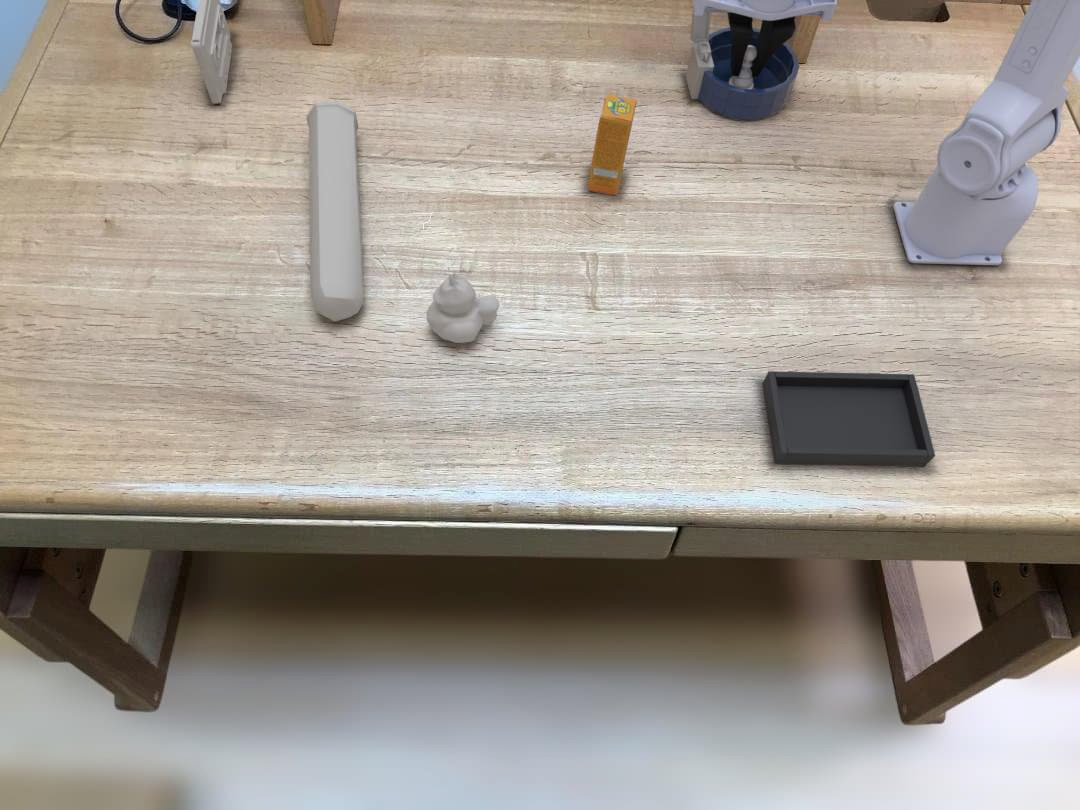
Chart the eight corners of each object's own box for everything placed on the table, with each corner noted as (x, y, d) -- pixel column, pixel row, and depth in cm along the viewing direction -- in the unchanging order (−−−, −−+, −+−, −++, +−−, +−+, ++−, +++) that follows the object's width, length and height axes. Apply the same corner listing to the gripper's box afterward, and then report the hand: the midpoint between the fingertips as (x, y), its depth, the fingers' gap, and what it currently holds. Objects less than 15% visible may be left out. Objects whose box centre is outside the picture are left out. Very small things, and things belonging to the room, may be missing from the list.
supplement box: (619, 197, 88) (632, 121, 80) (587, 191, 89) (596, 115, 80) (624, 174, 90) (637, 98, 81) (592, 169, 90) (602, 92, 82)
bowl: (781, 57, 101) (791, 28, 97) (795, 123, 95) (806, 94, 92) (687, 54, 100) (693, 24, 97) (695, 120, 95) (703, 91, 91)
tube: (373, 299, 76) (362, 105, 88) (311, 292, 74) (309, 95, 86) (362, 333, 80) (353, 143, 92) (303, 328, 78) (303, 135, 90)
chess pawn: (740, 97, 96) (752, 59, 92) (723, 83, 97) (734, 45, 93) (758, 87, 97) (770, 49, 93) (740, 73, 98) (751, 35, 94)
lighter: (706, 99, 96) (721, 37, 89) (691, 99, 96) (705, 37, 89) (696, 57, 100) (710, -5, 93) (681, 58, 100) (694, -5, 93)
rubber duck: (426, 307, 80) (419, 251, 74) (496, 301, 81) (495, 246, 74) (430, 355, 78) (423, 302, 71) (502, 348, 78) (502, 295, 72)
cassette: (219, 35, 99) (198, -27, 92) (235, 34, 99) (216, -28, 93) (208, 105, 93) (185, 44, 87) (225, 105, 93) (204, 44, 87)
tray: (904, 386, 78) (914, 374, 76) (925, 466, 74) (935, 455, 72) (762, 383, 78) (768, 370, 76) (774, 464, 73) (781, 453, 72)
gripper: (843, -67, 86) (803, 49, 98) (701, -72, 86) (677, 45, 97) (856, -25, 83) (812, 90, 94) (708, -30, 82) (682, 86, 94)
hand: (744, 70), depth 96 cm, fingers closed on chess pawn, 2 cm apart
